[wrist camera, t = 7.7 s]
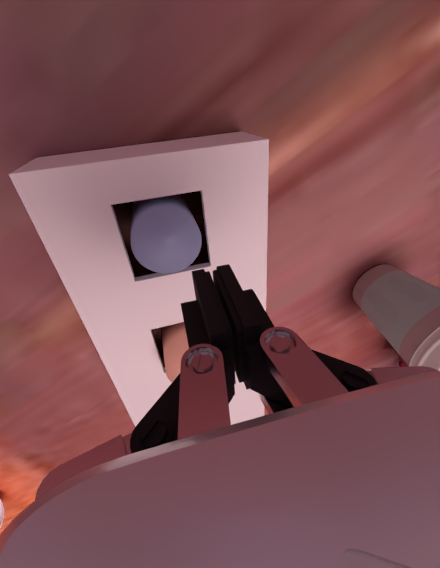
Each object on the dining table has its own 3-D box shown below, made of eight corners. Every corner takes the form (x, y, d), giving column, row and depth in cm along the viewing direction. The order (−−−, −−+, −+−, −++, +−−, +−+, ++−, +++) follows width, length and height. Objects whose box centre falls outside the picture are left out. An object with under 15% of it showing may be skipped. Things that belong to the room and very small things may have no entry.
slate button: (124, 192, 20) (121, 215, 16) (184, 182, 20) (197, 203, 16) (139, 246, 22) (140, 279, 18) (192, 236, 23) (205, 266, 19)
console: (36, 157, 18) (8, 174, 14) (242, 131, 20) (268, 139, 16) (146, 411, 35) (147, 451, 31) (250, 381, 37) (264, 415, 33)
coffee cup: (347, 323, 36) (426, 406, 26) (335, 278, 31) (428, 359, 21) (407, 291, 35) (510, 363, 26) (405, 239, 30) (532, 304, 20)
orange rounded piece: (156, 313, 24) (160, 356, 20) (205, 302, 25) (218, 341, 21) (165, 347, 26) (171, 392, 22) (210, 336, 27) (223, 377, 23)
